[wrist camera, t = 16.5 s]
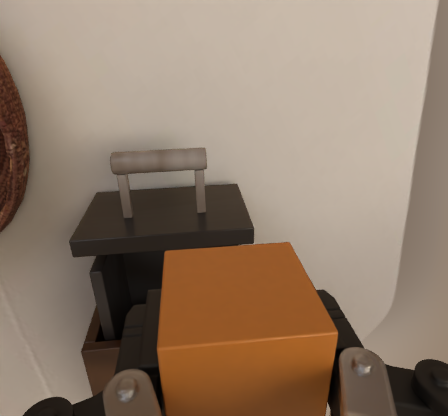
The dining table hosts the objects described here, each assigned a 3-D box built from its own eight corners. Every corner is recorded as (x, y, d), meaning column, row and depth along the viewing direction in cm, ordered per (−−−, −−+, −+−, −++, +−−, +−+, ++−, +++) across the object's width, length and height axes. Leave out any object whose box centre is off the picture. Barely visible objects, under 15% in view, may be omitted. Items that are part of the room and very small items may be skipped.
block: (289, 241, 13) (339, 332, 9) (283, 335, 15) (321, 445, 11) (164, 249, 13) (156, 349, 9) (173, 345, 15) (170, 464, 11)
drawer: (85, 136, 27) (51, 170, 20) (236, 129, 28) (255, 159, 21) (119, 313, 34) (103, 384, 27) (238, 302, 35) (252, 369, 28)
